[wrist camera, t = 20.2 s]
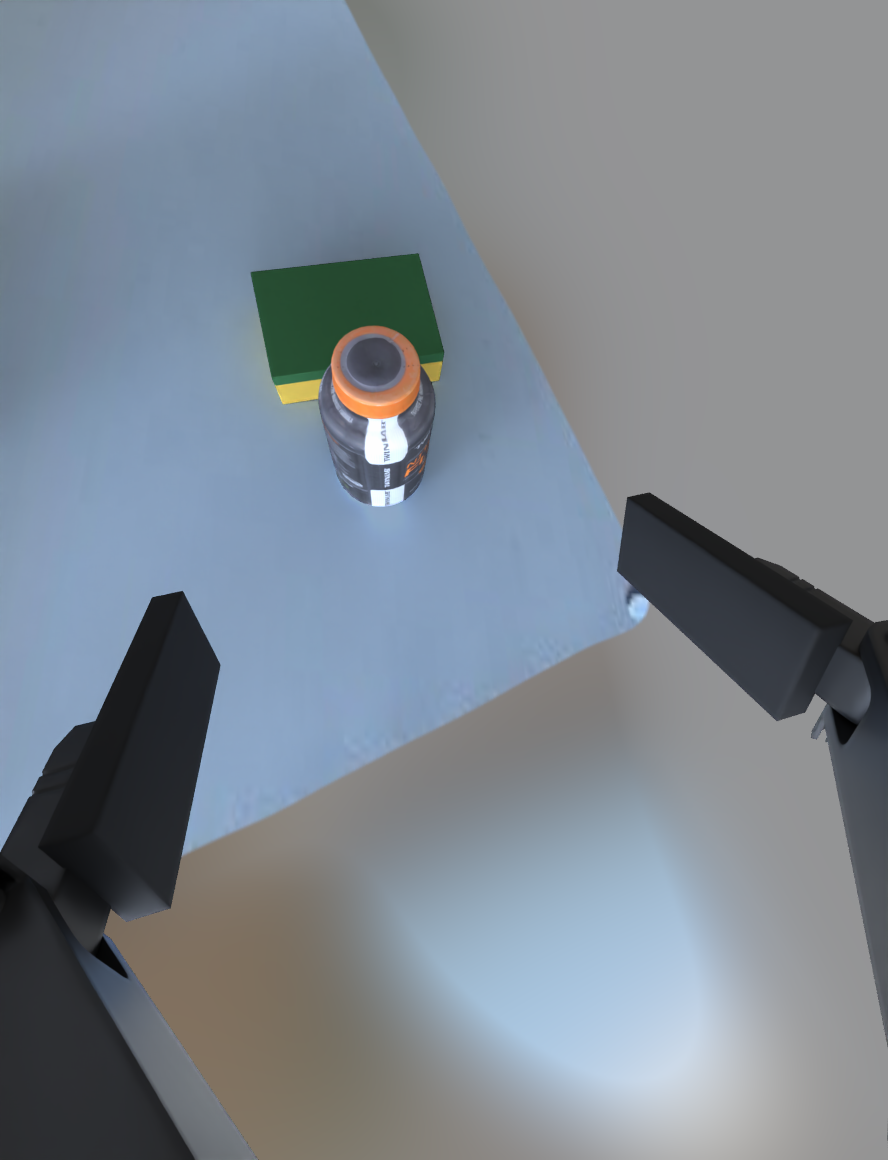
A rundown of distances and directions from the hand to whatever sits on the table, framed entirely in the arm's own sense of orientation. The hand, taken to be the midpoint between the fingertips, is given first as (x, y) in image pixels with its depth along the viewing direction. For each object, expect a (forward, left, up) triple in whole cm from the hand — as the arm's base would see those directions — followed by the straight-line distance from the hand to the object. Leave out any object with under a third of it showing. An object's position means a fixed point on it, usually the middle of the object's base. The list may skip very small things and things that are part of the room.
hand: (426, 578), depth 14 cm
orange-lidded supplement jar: (-7, +8, -17) cm, 20 cm away
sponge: (-14, +15, -17) cm, 26 cm away
